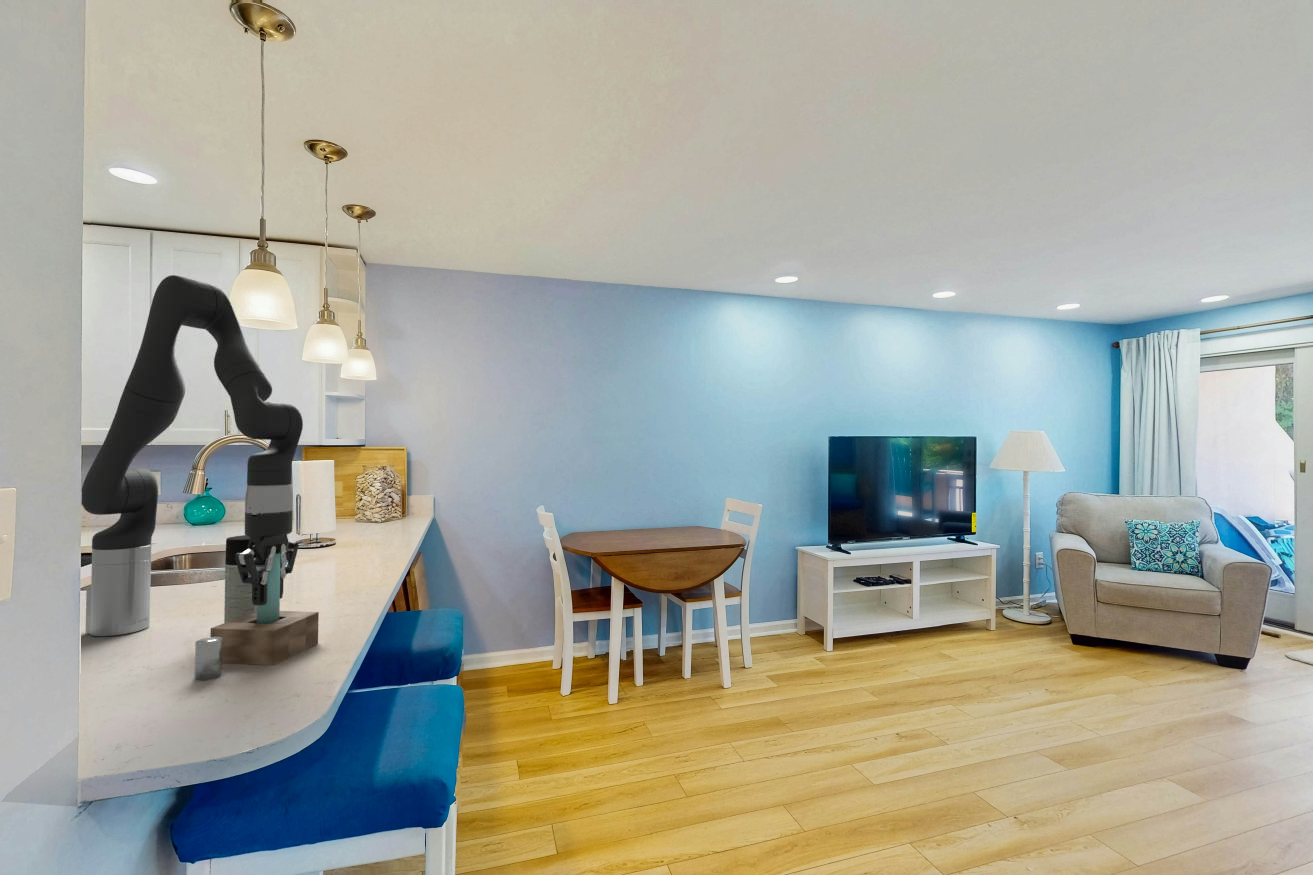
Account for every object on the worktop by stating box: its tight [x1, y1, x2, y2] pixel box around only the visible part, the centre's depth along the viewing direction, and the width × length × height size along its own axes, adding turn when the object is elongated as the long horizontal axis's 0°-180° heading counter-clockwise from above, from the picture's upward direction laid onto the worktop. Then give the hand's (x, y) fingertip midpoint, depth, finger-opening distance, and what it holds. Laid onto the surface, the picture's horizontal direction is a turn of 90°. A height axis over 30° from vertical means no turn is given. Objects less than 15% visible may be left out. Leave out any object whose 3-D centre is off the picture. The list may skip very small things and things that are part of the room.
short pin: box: [194, 636, 223, 682], centre depth 101 cm, size 4×4×6 cm
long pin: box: [256, 553, 281, 624], centre depth 113 cm, size 4×4×14 cm
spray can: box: [223, 534, 257, 624], centre depth 122 cm, size 7×7×20 cm
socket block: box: [209, 610, 320, 666], centre depth 113 cm, size 12×12×6 cm
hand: (267, 601), depth 113 cm, fingers closed on long pin, 3 cm apart
